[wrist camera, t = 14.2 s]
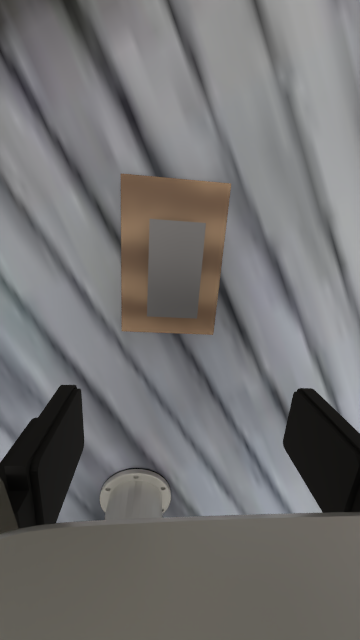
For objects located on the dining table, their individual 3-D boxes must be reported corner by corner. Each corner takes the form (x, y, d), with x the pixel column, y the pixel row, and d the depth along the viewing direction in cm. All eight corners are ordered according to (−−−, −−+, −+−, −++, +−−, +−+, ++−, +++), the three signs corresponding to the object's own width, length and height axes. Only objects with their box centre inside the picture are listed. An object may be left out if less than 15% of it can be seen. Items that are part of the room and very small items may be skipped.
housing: (195, 225, 29) (205, 223, 23) (189, 301, 32) (196, 318, 25) (152, 222, 29) (149, 218, 22) (150, 299, 31) (146, 316, 25)
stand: (209, 326, 36) (213, 334, 34) (124, 323, 35) (121, 331, 33) (224, 188, 31) (231, 183, 28) (124, 179, 30) (120, 173, 27)
